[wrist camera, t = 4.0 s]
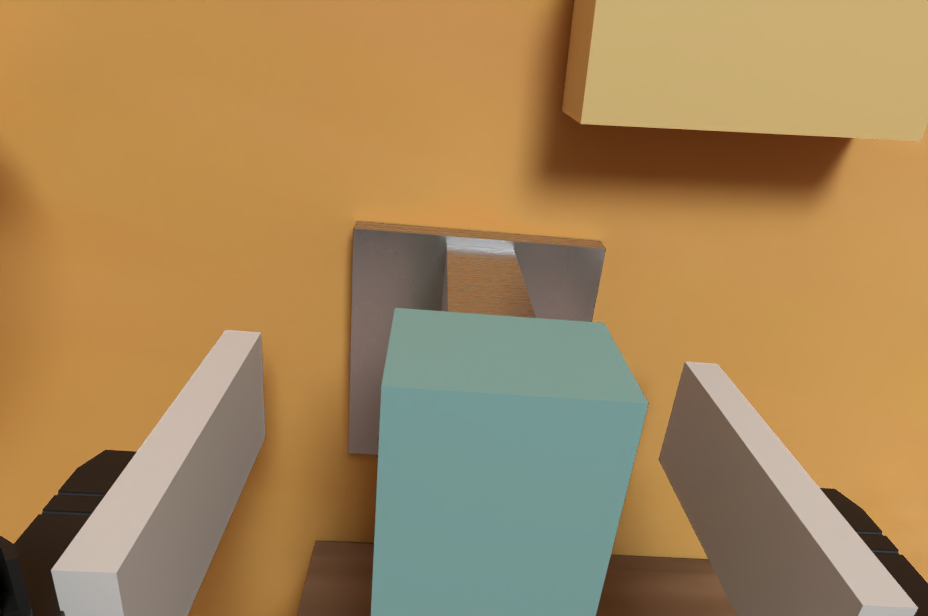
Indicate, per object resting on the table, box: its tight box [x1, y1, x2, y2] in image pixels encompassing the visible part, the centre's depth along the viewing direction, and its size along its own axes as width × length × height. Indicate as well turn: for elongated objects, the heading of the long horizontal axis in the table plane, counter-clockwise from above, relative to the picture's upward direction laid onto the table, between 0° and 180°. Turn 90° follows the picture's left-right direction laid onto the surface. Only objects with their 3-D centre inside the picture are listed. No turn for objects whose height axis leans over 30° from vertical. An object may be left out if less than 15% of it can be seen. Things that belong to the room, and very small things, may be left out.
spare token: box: [562, 0, 928, 141], centre depth 13 cm, size 7×3×2 cm, turn 87°
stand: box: [348, 221, 606, 455], centre depth 14 cm, size 6×6×6 cm
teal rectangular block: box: [371, 308, 649, 616], centre depth 10 cm, size 7×3×2 cm, turn 175°
